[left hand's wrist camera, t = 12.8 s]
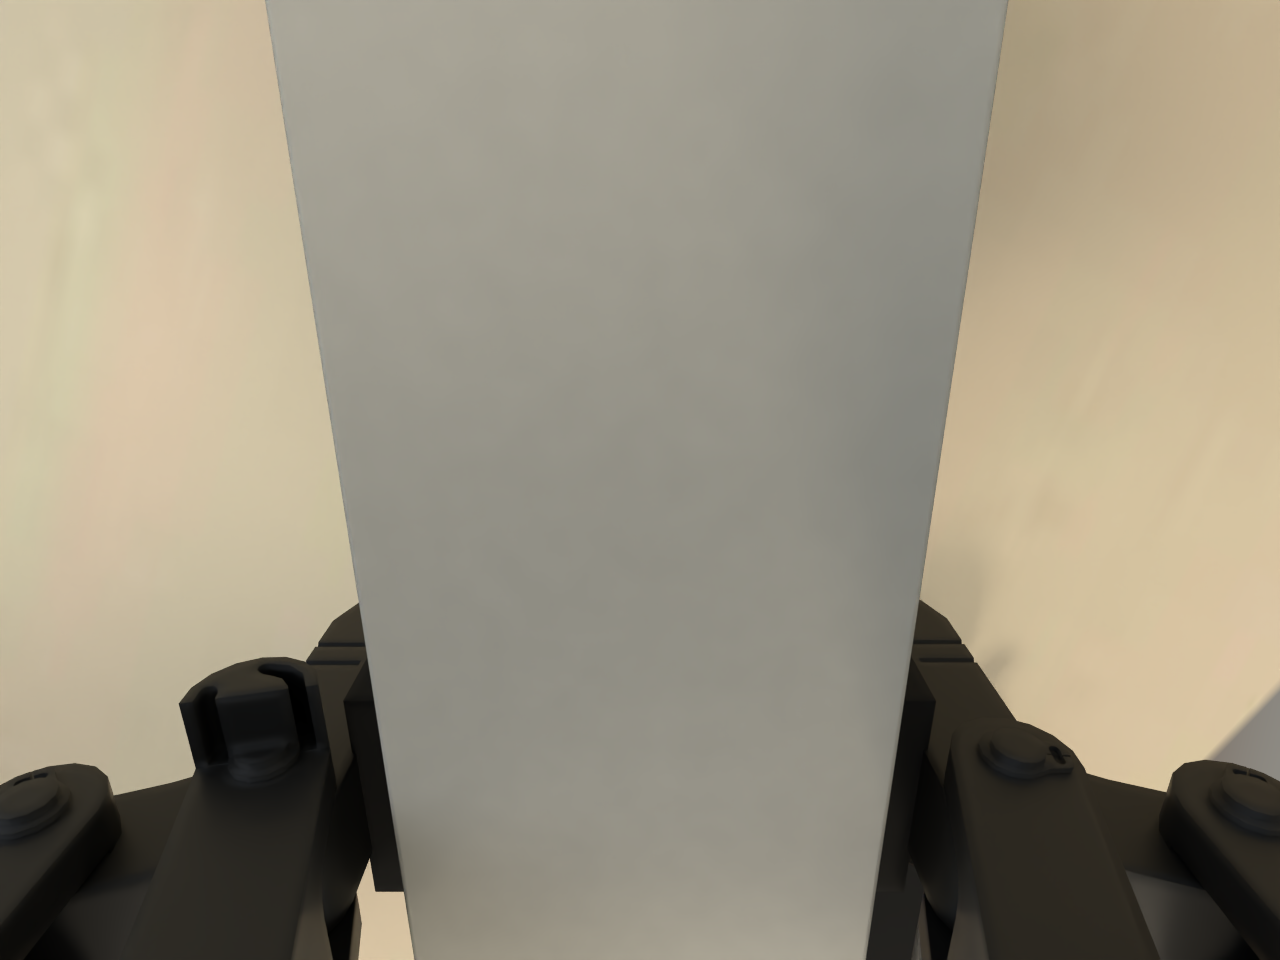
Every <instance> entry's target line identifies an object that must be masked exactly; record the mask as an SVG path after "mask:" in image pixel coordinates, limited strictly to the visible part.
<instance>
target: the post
mask: <svg viewBox="0 0 1280 960" xmlns="http://www.w3.org/2000/svg"><path fill="white" fill-rule="evenodd" d="M265 2H266V8H267V15H268V21H269V28H270V34H271V41H272V47H273V53H274V60H275V66H276V73H277V79H278V86H279V92H280V98H281V105H282V111H283V118H284V124H285V131H286V137H287V143H288V150H289V156H290V163H291V169H292V176H293V182H294V188H295V195H296V201H297V208H298V214H299V221H300V227H301V233H302V240H303V246H304V253H305V259H306V266H307V272H308V278H309V285H310V291H311V298H312V304H313V310H314V317H315V323H316V330H317V336H318V343H319V349H320V355H321V362H322V368H323V375H324V381H325V388H326V394H327V400H328V407H329V413H330V420H331V426H332V433H333V439H334V445H335V452H336V458H337V465H338V471H339V478H340V484H341V490H342V497H343V503H344V510H345V516H346V523H347V529H348V535H349V542H350V548H351V555H352V561H353V568H354V574H355V580H356V587H357V593H358V600H359V606H360V613H361V619H362V625H363V632H364V638H365V645H366V651H367V658H368V664H369V670H370V677H371V683H372V690H373V696H374V703H375V709H376V715H377V722H378V728H379V735H380V741H381V748H382V754H383V760H384V767H385V773H386V780H387V786H388V793H389V799H390V805H391V812H392V818H393V825H394V831H395V838H396V844H397V850H398V857H399V863H400V870H401V876H402V883H403V889H404V895H405V902H406V908H407V915H408V921H409V928H410V934H411V940H412V947H413V953H414V960H866V954H867V947H868V940H869V934H870V927H871V920H872V914H873V907H874V900H875V893H876V887H877V880H878V873H879V866H880V860H881V853H882V846H883V840H884V833H885V826H886V819H887V813H888V806H889V799H890V793H891V786H892V779H893V772H894V766H895V759H896V752H897V745H898V739H899V732H900V725H901V719H902V712H903V705H904V698H905V692H906V685H907V678H908V671H909V665H910V658H911V651H912V645H913V638H914V631H915V624H916V618H917V611H918V604H919V597H920V591H921V584H922V577H923V571H924V564H925V557H926V550H927V544H928V537H929V530H930V523H931V517H932V510H933V503H934V497H935V490H936V483H937V476H938V470H939V463H940V456H941V450H942V443H943V436H944V429H945V423H946V416H947V409H948V402H949V396H950V389H951V382H952V376H953V369H954V362H955V355H956V349H957V342H958V335H959V328H960V322H961V315H962V308H963V302H964V295H965V288H966V281H967V275H968V268H969V261H970V254H971V248H972V241H973V234H974V228H975V221H976V214H977V207H978V201H979V194H980V187H981V180H982V174H983V167H984V160H985V154H986V147H987V140H988V133H989V127H990V120H991V113H992V107H993V100H994V93H995V86H996V80H997V73H998V66H999V59H1000V53H1001V46H1002V39H1003V33H1004V26H1005V19H1006V12H1007V6H1008V0H265Z"/></svg>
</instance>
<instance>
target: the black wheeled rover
mask: <svg viewBox="0 0 1280 960" xmlns="http://www.w3.org/2000/svg"><path fill="white" fill-rule="evenodd" d="M923 892H924V889H923V887H922V884H921V882H920V879H919V876H918V874H917V871H916V869H915V866H914V864H913V861H912V859H911V856H910V858H909V864H908V870H907V876H906V882H905V888H904V892H876V893H875V900H874V907H873V914H872V920H871V927H870V934H869V940H868V947H867V954H866V960H911V959H912V953H913V947H914V942H915V936H916V931H917V925H918V920H919V914H920V909H921V903H922V898H923Z"/></svg>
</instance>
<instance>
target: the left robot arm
mask: <svg viewBox="0 0 1280 960" xmlns="http://www.w3.org/2000/svg"><path fill="white" fill-rule="evenodd" d="M179 706H180V710H181V714H182V718H183V722H184V725H185V729H186V733H187V737H188V740H189V744H190V748H191V752H192V756H193V759H194V763H195V767H196V770H195V772H194V775H193V777H190V778H187V779H183V780H180V781H176V782H173V783H169V784H164V785H160V786H155V787H151V788H146V789H142V790H137V791H133V792H128V793H124V794H119V795H115V796H114V795H113V792H112V789H111V786H110V783H109V779H108V776H106V775H105V774H104V773H103V772H102V771H100V770H99V769H98V768H97V767H95V766H89V765H83V764H76V763H73V764H65V765H57V766H49V767H45V768H42V769H39V770H35V771H33V772H28V773H26V774H23V775H20V776H17V777H15V778H13V779H11V780H9V781H8V782H6V783H4V784H2V785H0V960H358V956H359V946H360V936H361V926H362V922H361V916H360V909H359V903H358V898H357V889H358V887H359V884H360V881H361V879H362V876H363V874H364V871H365V869H366V866H367V864H368V861H369V858H370V862H371V868H372V874H373V880H374V886H375V891H376V892H404V889H403V883H402V876H401V870H400V863H399V857H398V850H397V844H396V838H395V831H394V825H393V818H392V812H391V805H390V799H389V793H388V786H387V780H386V773H385V767H384V760H383V754H382V748H381V741H380V735H379V728H378V722H377V715H376V709H375V703H374V696H373V690H372V683H371V677H370V670H369V664H368V658H367V651H366V645H365V638H364V632H363V625H362V619H361V613H360V606H359V603H358V604H356V605H355V606H354V607H352V608H351V609H349V610H348V611H346V612H345V613H344V614H342V615H341V616H339V617H338V618H337V619H335V620H334V621H333V622H332V623H331V625H330V626H329V628H328V629H327V631H326V632H325V634H324V635H323V636H322V638H321V639H320V641H319V642H318V647H315V648H314V650H313V651H312V653H311V654H310V656H309V657H308V659H307V660H306V662H304V661H300V660H296V659H292V658H288V657H268V658H259V659H254V660H250V661H245V662H241V663H236V664H234V665H232V666H229V667H227V668H224V669H222V670H220V671H217V672H215V673H213V674H211V675H209V676H208V677H206V678H205V679H204V680H202V681H201V682H199V683H198V684H196V685H195V686H193V687H192V688H191V689H190V690H189V691H188V693H187V694H186V695H185V696H184V698H183V699H182V700H181V701H180V703H179ZM910 856H911V859H912V861H913V864H914V866H915V869H916V871H917V874H918V876H919V879H920V882H921V884H922V887H923V889H924V892H923V898H922V903H921V909H920V914H919V920H918V925H917V931H916V936H915V942H914V947H913V953H912V959H911V960H1280V781H1278V780H1276V779H1274V778H1272V777H1270V776H1268V775H1266V774H1264V773H1262V772H1259V771H1256V770H1253V769H1251V768H1250V769H1249V768H1246V767H1244V766H1240V765H1237V764H1233V763H1227V762H1219V761H1211V760H1201V761H1195V762H1189V763H1184V764H1183V765H1182V766H1181V767H1179V768H1178V769H1177V770H1176V771H1175V772H1173V774H1172V777H1171V780H1170V783H1169V786H1168V789H1167V792H1162V791H1158V790H1153V789H1149V788H1144V787H1139V786H1135V785H1130V784H1126V783H1121V782H1117V781H1112V780H1108V779H1104V778H1101V777H1097V776H1094V775H1090V774H1087V773H1086V771H1085V768H1084V767H1083V765H1082V764H1081V762H1080V761H1079V759H1078V758H1077V756H1076V755H1075V753H1074V752H1073V751H1072V750H1071V749H1070V748H1068V747H1067V746H1066V745H1065V744H1063V743H1062V742H1061V741H1060V740H1058V739H1057V738H1056V737H1055V736H1053V735H1051V734H1049V733H1047V732H1045V731H1043V730H1041V729H1038V728H1036V727H1034V726H1032V725H1030V724H1026V723H1023V722H1019V721H1016V719H1015V718H1014V716H1013V715H1012V713H1011V712H1010V710H1009V709H1008V708H1007V706H1006V705H1005V703H1004V702H1003V700H1002V699H1001V697H1000V696H999V694H998V693H997V691H996V690H995V688H994V687H993V686H992V684H991V683H990V681H989V680H988V678H987V677H986V675H985V674H984V672H983V671H982V669H981V668H980V666H979V665H978V664H977V663H974V658H973V656H972V655H971V653H970V652H969V650H968V649H967V647H966V646H965V644H962V643H961V639H960V637H959V636H958V634H957V633H956V631H955V630H954V628H953V627H952V625H951V624H950V622H949V621H948V620H947V618H945V617H944V616H943V615H941V614H940V613H938V612H937V611H935V610H934V609H933V608H931V607H930V606H928V605H927V604H925V603H924V602H923V601H921V600H919V604H918V611H917V618H916V624H915V631H914V638H913V645H912V651H911V658H910V665H909V671H908V678H907V685H906V692H905V698H904V705H903V712H902V719H901V725H900V732H899V739H898V745H897V752H896V759H895V766H894V772H893V779H892V786H891V793H890V799H889V806H888V813H887V819H886V826H885V833H884V840H883V846H882V853H881V860H880V866H879V873H878V880H877V887H876V892H904V888H905V882H906V876H907V870H908V864H909V858H910Z"/></svg>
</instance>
